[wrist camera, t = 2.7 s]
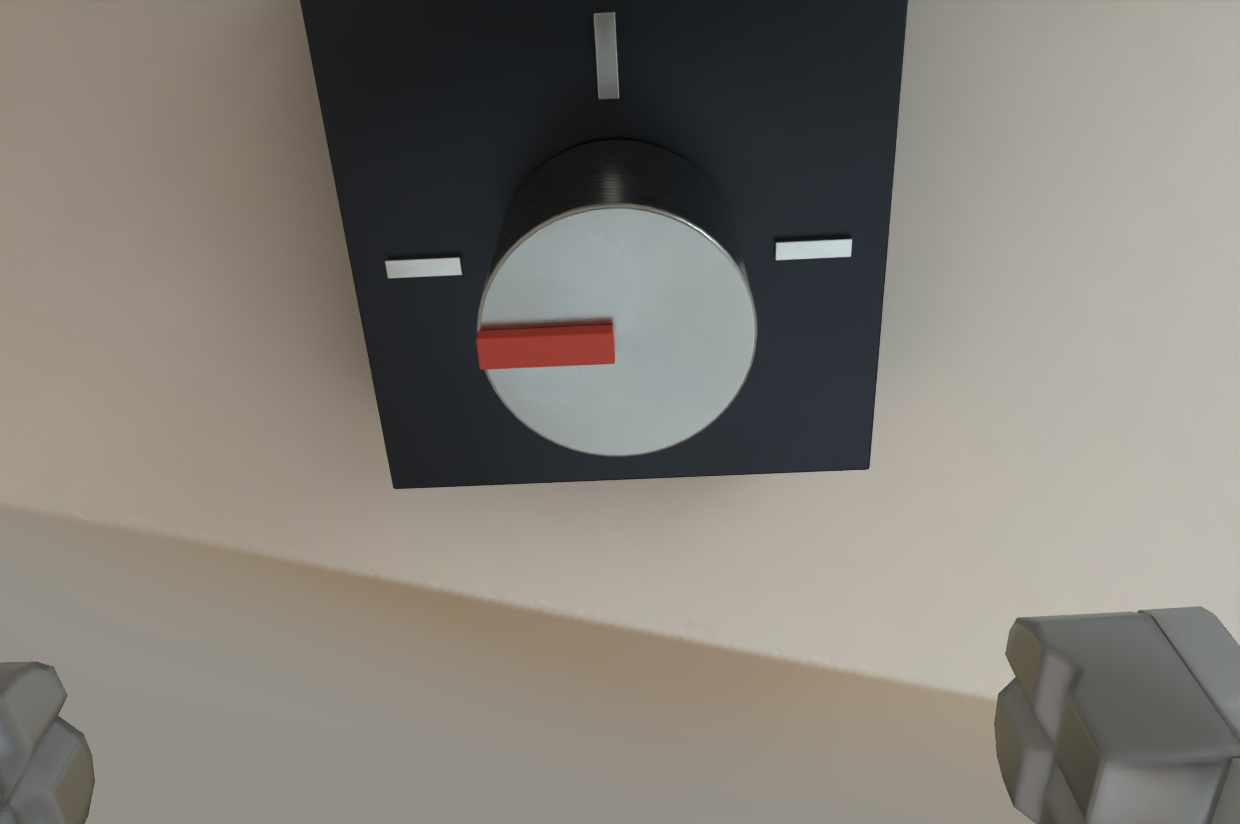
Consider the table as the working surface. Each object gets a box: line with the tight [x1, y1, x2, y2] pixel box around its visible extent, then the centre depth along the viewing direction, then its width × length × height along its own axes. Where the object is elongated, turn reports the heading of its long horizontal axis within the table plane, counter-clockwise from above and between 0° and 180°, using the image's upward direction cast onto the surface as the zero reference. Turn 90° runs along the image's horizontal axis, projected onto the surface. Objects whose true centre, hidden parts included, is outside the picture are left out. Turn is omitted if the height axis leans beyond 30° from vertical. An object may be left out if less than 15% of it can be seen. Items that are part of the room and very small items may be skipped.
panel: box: [300, 0, 908, 489], centre depth 21 cm, size 10×10×3 cm
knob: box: [476, 140, 758, 457], centre depth 18 cm, size 4×4×4 cm
